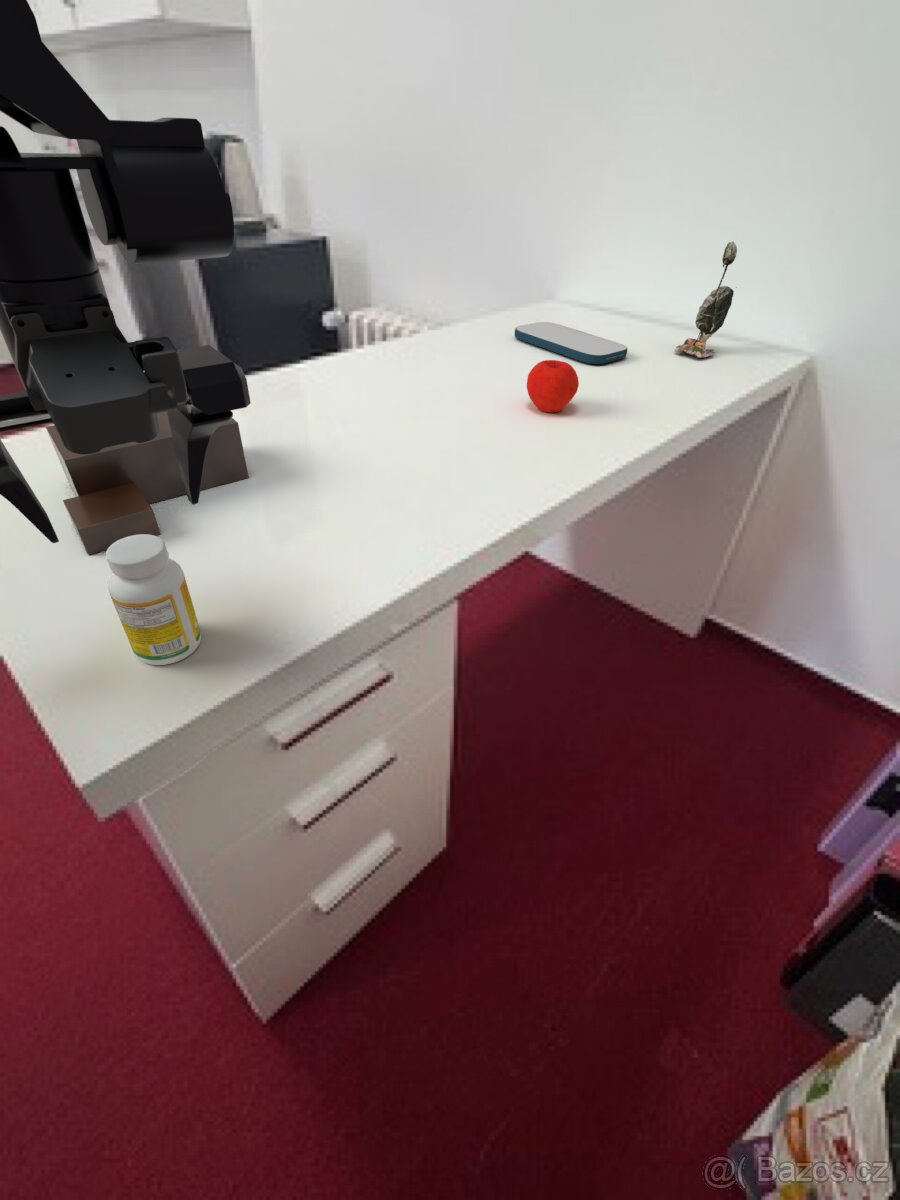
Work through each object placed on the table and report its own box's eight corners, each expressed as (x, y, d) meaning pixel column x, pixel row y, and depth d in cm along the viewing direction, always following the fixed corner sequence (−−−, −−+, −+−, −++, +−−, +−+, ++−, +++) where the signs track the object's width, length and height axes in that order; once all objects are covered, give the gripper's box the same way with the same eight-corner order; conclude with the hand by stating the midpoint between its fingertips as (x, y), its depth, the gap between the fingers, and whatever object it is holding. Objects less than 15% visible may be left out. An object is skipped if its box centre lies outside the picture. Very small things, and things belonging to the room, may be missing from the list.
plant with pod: (730, 353, 121) (766, 240, 109) (696, 362, 116) (730, 244, 103) (696, 343, 126) (727, 234, 114) (662, 351, 121) (691, 237, 108)
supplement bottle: (173, 674, 47) (137, 577, 41) (119, 656, 48) (76, 559, 42) (216, 632, 51) (189, 537, 45) (165, 617, 52) (132, 523, 46)
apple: (568, 399, 97) (575, 353, 93) (579, 418, 91) (588, 369, 87) (520, 399, 97) (525, 352, 92) (528, 418, 91) (534, 368, 86)
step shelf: (88, 555, 59) (61, 492, 55) (54, 487, 69) (30, 429, 65) (272, 501, 68) (263, 444, 64) (219, 448, 79) (207, 396, 74)
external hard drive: (507, 337, 125) (508, 327, 123) (545, 330, 130) (547, 320, 129) (594, 368, 111) (596, 357, 109) (632, 358, 116) (634, 347, 115)
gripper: (-197, 330, 23) (-13, 633, 32) (265, 283, 32) (300, 531, 42) (-184, 276, 29) (-35, 541, 39) (194, 251, 39) (238, 470, 48)
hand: (127, 520), depth 42 cm, fingers open, 9 cm apart
